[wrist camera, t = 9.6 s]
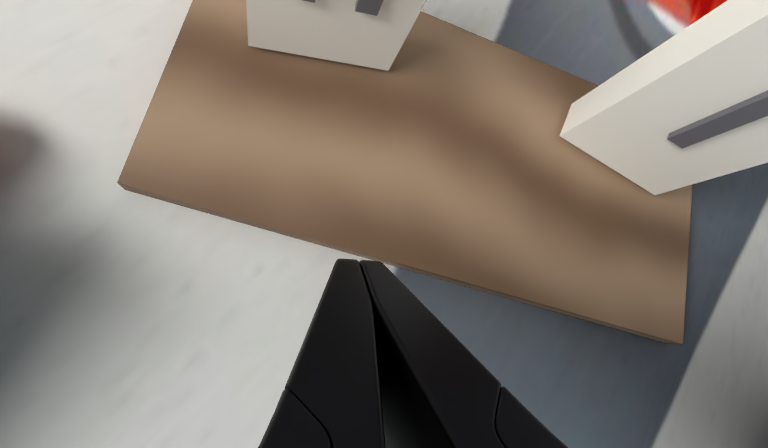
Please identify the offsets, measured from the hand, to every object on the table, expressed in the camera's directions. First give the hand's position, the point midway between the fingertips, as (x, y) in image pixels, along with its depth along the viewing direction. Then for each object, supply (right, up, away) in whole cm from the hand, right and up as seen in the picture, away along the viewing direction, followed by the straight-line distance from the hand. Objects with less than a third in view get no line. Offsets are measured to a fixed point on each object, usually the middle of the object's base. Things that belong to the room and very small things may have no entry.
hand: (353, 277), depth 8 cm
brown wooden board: (+4, +4, +13) cm, 14 cm away
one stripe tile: (+12, +5, +14) cm, 19 cm away
